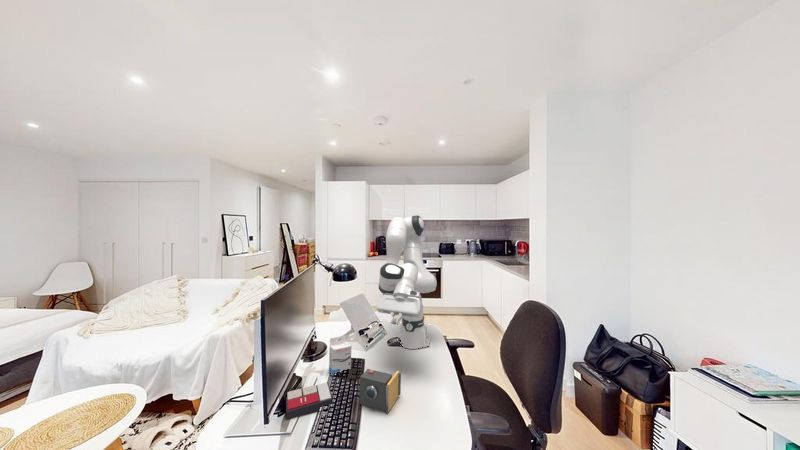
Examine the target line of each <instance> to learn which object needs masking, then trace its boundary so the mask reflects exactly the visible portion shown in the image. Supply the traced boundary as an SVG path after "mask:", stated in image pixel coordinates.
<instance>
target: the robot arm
mask: <svg viewBox="0 0 800 450" xmlns="http://www.w3.org/2000/svg"><path fill="white" fill-rule="evenodd" d="M424 229H425V223H424V220H423V218H422V217H421V216H420V215H412V216H408V217H405V218H403V217H401V216H396V217H393V218H392V219H391V220H390V222H389V224H388V227H387V230H386V235H385V237H386V238H385V246H386V247H385V248H386V250H385V251H386V263H385V264H383V265H382V266H381V267H380V269H379V279H378V280H379V282H378V291H380V293H382V294H381V295H380V297H379V300H378V302H377V304H376V306H375V307H376V310H377V312H378V313H381V314H386V315H387V314H388V315H390V317H391V320H390V323H391V324H392V325H399V324H400V322H401V325H400V326H399V330H398V332H399V333H398V338H400V340H401V342H402V343H403V344H402V346H403V347H402V346H401V347H402V348H405V349H410V350H417V349H418V348H419V349H423V348H428V347H427V346H429V347H430V345H429V343H430V344H431V339H430V337H431V334H429V333H428V328H427V326H426V325H425V315H424V305H423V299H422V295H421V294H428V293H431V292H433V293H434V291H435V290H436V289H437V285H438V284H437V277H435V275H434V274H432V273H431V272H430V271H429V270H428V269H427V268H426V266H425V263H424V259H423V246H422V241H421V237H420V236H422V234H423V231H424ZM402 252H403V264H402V263H401V264H399V262H400V259H401V255H402ZM395 316H398V317H397V318H394V317H395ZM422 347H423V348H422Z"/></svg>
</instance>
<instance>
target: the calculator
mask: <svg viewBox="0 0 800 450" xmlns="http://www.w3.org/2000/svg"><path fill="white" fill-rule="evenodd" d="M285 404H286V405H285V407H286V409H285V412H286V414H285V415H286V417H285V418H286V420H287V421H288V420H293V419H295V418H300V417H305V416H306V415H312V414H314V413H318V412H320V411H319V409H320V407H322V406H325V405H329V404H333V405H334V398H333V395H332V390H331V388H330V385H329V382H322V383H318V384H313V385H309V386H306V387H302V388H297V389H294V390H290V391H287V397H286V396H285Z"/></svg>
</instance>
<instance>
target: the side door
mask: <svg viewBox="0 0 800 450" xmlns="http://www.w3.org/2000/svg"><path fill="white" fill-rule="evenodd" d="M401 380H402V372H400V370H396V372H395V373H394V374H393V375H392V378H391V380H390V381H389V382H388V384H387V385H386V404H385V412H384V413H385V414H389V412H390V410H391V409H392V407H393V405H394V404H395V402H396V401H397V399H398V398H399V396H401V387H402V386H401V385H402V384H401V383H402V381H401Z"/></svg>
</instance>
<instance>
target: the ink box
mask: <svg viewBox="0 0 800 450" xmlns="http://www.w3.org/2000/svg"><path fill="white" fill-rule="evenodd" d="M339 339H340V340H339ZM328 356H329V359H328V360H329V361H328V373H329V374H330V373H332V374H334V373H337V372H340V371H343V370H347V369H352V344H351V343H350V342H349V341H348V334H347V335H340V336H335V337H331V338H330V339H329V355H328Z"/></svg>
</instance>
